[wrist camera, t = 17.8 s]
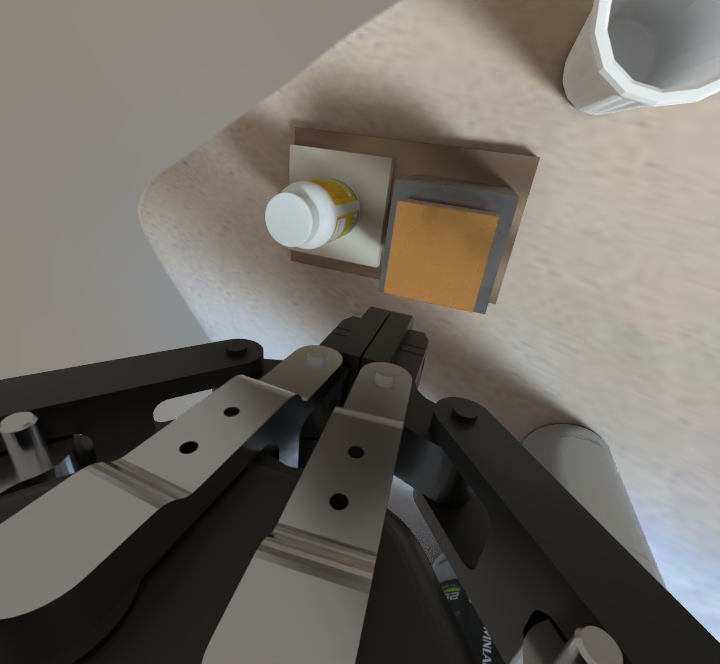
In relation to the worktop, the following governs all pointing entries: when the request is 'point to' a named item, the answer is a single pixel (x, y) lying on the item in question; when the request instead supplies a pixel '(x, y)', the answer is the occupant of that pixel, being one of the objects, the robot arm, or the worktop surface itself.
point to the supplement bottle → (312, 213)
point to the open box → (461, 196)
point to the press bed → (375, 188)
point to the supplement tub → (466, 614)
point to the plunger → (439, 253)
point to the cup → (644, 55)
